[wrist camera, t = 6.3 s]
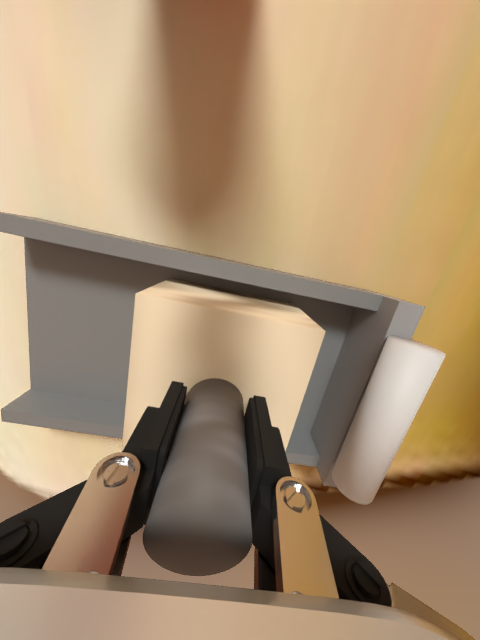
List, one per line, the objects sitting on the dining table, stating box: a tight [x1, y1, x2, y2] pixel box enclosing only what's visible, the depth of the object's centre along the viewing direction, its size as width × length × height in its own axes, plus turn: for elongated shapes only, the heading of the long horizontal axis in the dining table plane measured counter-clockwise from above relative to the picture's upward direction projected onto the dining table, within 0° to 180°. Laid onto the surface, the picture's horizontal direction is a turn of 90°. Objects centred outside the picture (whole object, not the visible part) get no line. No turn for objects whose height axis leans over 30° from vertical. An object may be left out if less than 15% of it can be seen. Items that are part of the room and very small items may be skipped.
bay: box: [0, 212, 446, 504], centre depth 15 cm, size 26×14×8 cm, turn 78°
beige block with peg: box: [122, 278, 326, 576], centre depth 12 cm, size 9×10×12 cm
